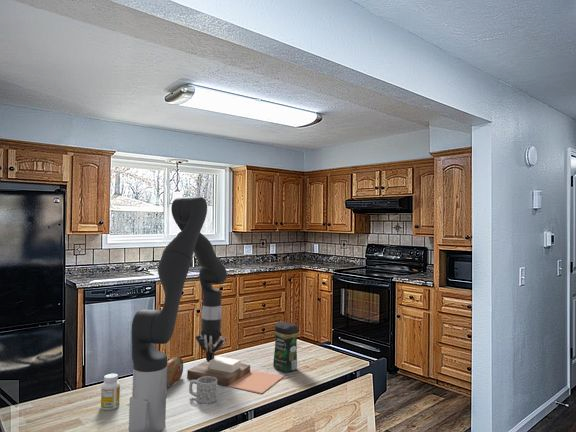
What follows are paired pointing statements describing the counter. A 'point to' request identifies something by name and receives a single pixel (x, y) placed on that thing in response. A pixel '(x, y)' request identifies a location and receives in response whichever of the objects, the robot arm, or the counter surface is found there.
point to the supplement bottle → (110, 392)
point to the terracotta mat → (256, 382)
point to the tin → (174, 370)
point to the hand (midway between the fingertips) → (210, 361)
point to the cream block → (224, 364)
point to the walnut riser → (218, 373)
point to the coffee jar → (285, 346)
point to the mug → (205, 390)
